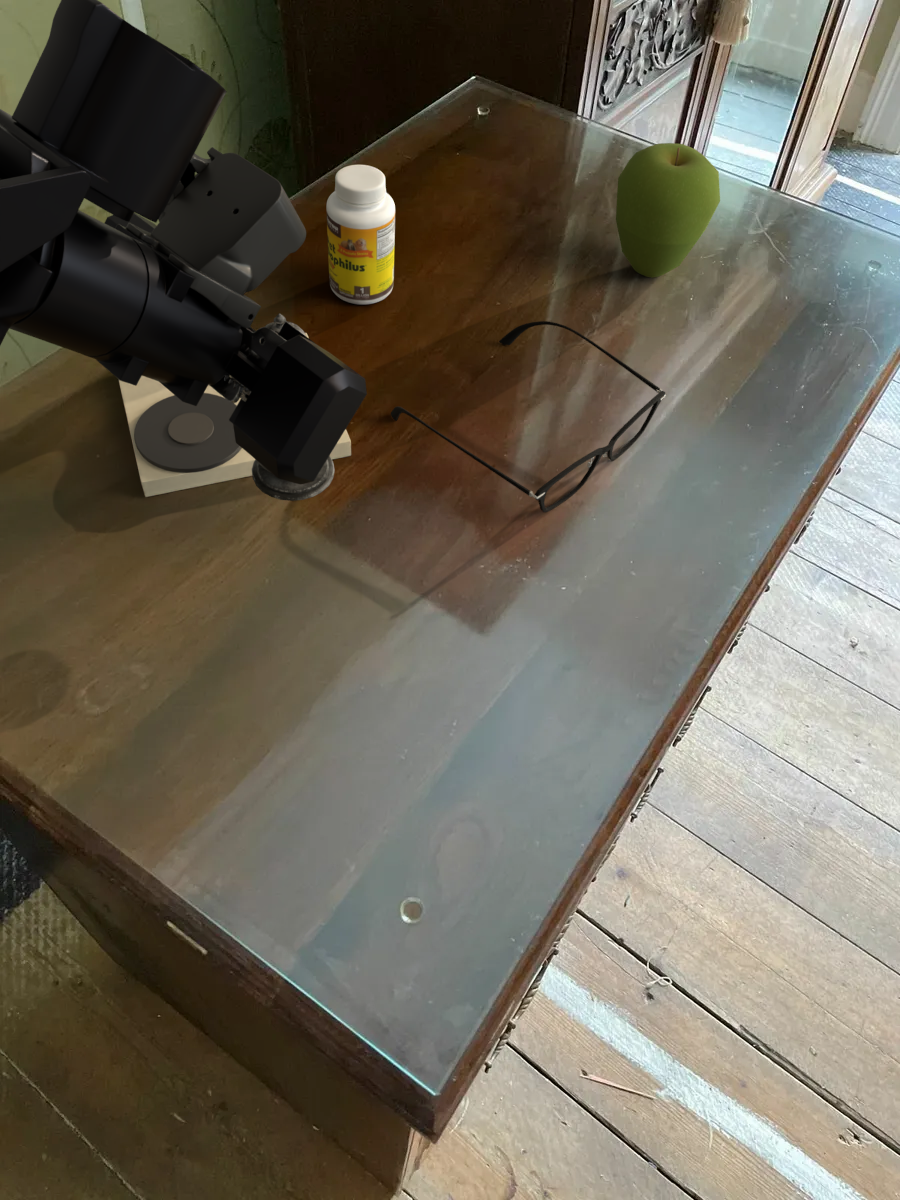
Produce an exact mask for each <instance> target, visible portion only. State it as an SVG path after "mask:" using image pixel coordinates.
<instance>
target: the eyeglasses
mask: <svg viewBox="0 0 900 1200" xmlns="http://www.w3.org/2000/svg"><path fill="white" fill-rule="evenodd" d="M545 325H546V326H547V325H548V326H554V327H559V328H562V329H565V330H568V331H569V332H571V333H573V334H575V335H576V336H578V337H580V338H582V339H583V340H584V341H586V342H587V343H589V344H590V345H592V346H593V347H595V348H596V349H598V350H599V351H600V352H601V353H603V354H604V355H606V356H607V357H609V358H610V359H611V360H613V361H614V362H615V363H617V364H618V365H620V366H621V367H622V368H624V370H626V371H628V372H629V373H630V374H631V375H633V376H634V377H636V378H637V379H638V380H640V382H642V383H644V384H645V385H647V386H648V387H649V388H650V389H652V390H653V391H655V392H656V393H657V394H656V395H654V396H653V398H651V400H649V401H648V402H647V403H646V404H644V405H643V406H642V407H641V408H640V409H638V411H637V412H636V413H635V414H634V415H633V416H632V417H631V418H630V419H629V420H628V421H627V422H626V423H625V424H623V426H621V428H619V430H618V431H617V432H616V433H615V434H614V435H613V436H612V437H611V439H610V440H609V442H608V444H607V445H606V446H603V447H598V448H596V449H594V450H593V451H591V452H589V453H587V454H585V455H584V456H582V457H581V458H579V459H577V460H576V461H574V462H573V463H572V464H570V465H568V466H567V467H566V468H564V469H563V470H562V471H560V472H559V473H558V474H556V475H555V476H553V477H552V478H551V479H550V480H548V481H547V482H546V483H544V484H543V485H542V486H541V487H539V488H538V489H537V490H536V491H535V493H534V492H533V490H530V489H528V488H527V487H525V486H523V485H522V484H521V483H519V482H517V481H516V480H514V479H513V478H511V477H509V476H508V475H507V474H506V473H505V474H504V473H503V472H502V471H500V470H499V469H497V468H495V466H492V465H490V463H487V462H486V461H484V460H483V459H481V458H480V457H479V456H477V455H475V454H474V453H472V452H471V451H469V450H467V449H465V448H464V447H463V446H461V445H460V444H458V443H456V442H455V441H453V440H452V439H450V438H448V437H447V436H445V435H444V434H442V433H441V432H439V431H438V430H436V429H435V428H433V427H432V426H430V425H429V424H428V423H426V422H425V421H423V420H422V419H420V418H419V417H417V416H416V415H415V414H413V413H411V412H410V411H408V410H406V409H405V408H403V407H402V406H400V405H399V406H397V405H396V406H395V407H393V408H392V410H391V412H390V417H391V418H392V420H394V421H395V422H397V421H398V419H399V417H400V415H401V414H405V415H407V416H409V417H410V418H412V419H413V420H415V421H417V422H418V423H419V424H421V425H423V426H424V427H426V429H429V430H430V431H432V432H433V433H435V434H436V435H438V436H439V437H441V438H442V439H444V440H445V441H447V442H448V443H449V444H451V445H452V446H454V447H455V448H457V449H458V450H460V451H461V452H463V453H465V454H466V455H467V456H469V458H472V459H474V460H475V461H476V462H478V463H479V464H481V465H482V466H484V467H485V468H486V469H488V470H490V471H491V472H493V473H494V474H496V475H497V476H499V477H500V478H502V479H503V480H505V481H506V482H508V483H509V484H511V485H512V486H514V487H515V488H516V489H518V490H519V491H521V492H522V493H524V494H526V495H527V496H529V497H530V498H534V499H535V500H536V501H537V502H538V505H539V506H538V507H539V509H540V511H542V512H543V513H548V512H550V511H552V510H554V509H555V508H557V507H558V506H561V504H563V503H565V502H566V501H567V500H569V498H571V497H572V496H574V495H575V494H576V493H577V492H579V490H580V489H582V488H583V486H584V485H585V484H586V482H588V480H589V478H590V477H591V475H592V473H593V472H594V470H595V469H596V467H597V465H598V464H599V462H600V460H601V459H602V457H603V458H606V457H607V459H608V460H610V461H611V462H613V461H615V460H617V459H618V458H620V457H621V456H622V455H623V454H624V453H625V452H627V450H629V448H631V447H632V446H633V445H634V444H635V442H636V441H637V440H638V439H640V437H641V436H642V434H643V433H644V431H645V430H646V428H647V427H648V425H649V424H650V422H651V420H652V418H653V416H654V415H655V413H656V411H657V409H658V407H659V405H660V404H661V403H662V401H663V400H664V398H666V396H667V393H666V391H664V390H663V389H662V388H660V387H659V386H657V385H656V384H654V382H652V381H650V380H649V379H648V378H646V377H645V376H643V375H642V374H641V373H640V372H638V371H636V370H635V369H633V368H631V366H629V365H628V364H626V363H625V362H623V361H622V360H620V359H619V358H617V357H616V356H614V355H613V354H611V353H610V352H608V351H607V350H605V349H604V348H603V347H601V346H600V345H598V344H597V343H596V342H594V341H593V340H591V339H589V338H587V336H585V335H583V334H582V333H580V332H579V331H577V330H575V329H573V328H571V327H569V326H567V325H564V324H561V323H558V322H553V321H548V320H547V321H546V320H541V321H531V322H527V323H523V324H520V325H518V326H516V327H515V328H513V329H512V330H511V331H508V333H507V334H505V335H504V336H503V337H502V338H501V339H499V340H498V343H500V344H502V345H504V346H510V345H511V346H512V344H513V343H514V342H515V341H516V339H518V337H520V336H521V335H522V334H523V333H524V332H525V331H527V330H528V329H530V328H532V327H537V326H545ZM650 408H651V409H650ZM649 409H650V411H649V413H648V414H647V416H646V418H645V420H644V422H643V424H641V427H640V429H639V430H638V431H637V433H636V434H635V435H634V436H633V437H632V439H630V440H629V441H628V443H626V445H624V446H623V447H622V448H621V449H620V450H619V451H618V452H617V453H615V454H614V455H613V451H614V447H615V444H616V442H617V441H618V439H620V437H621V436H622V435H623V434H624V433H625V432H626V431H627V430H628V429H629V428H630V427H631V426H632V425H633V424H634V423H635V422H636V421H637V420H638V419H639V418H640V417H642V415H643V414H644V413H646V412H647V411H648V410H649ZM589 460H590V461H589ZM584 463H587V464H586V465H587V466H586V467H587V468H588V470H587V472H586V473H585V474H584V475H583V477H582V479H581V480H580V482H578V484H577V485H576V486H575V487H573V488H572V489H571V490H570V491H569V492H568V493H567V494H565V495H564V496H562V497H561V498H559V499H558V500H556V501H555V502H553V503H552V504H550V505H547V506H546V505H545V504H546V503H545V500H546V497H547V493H548V491H549V490H550V489H551V488H552V487H553V486H554V485H555V484H557V483H558V482H559V481H560V480H562V479H563V478H564V477H565V476H567V475H568V474H570V473H571V472H572V471H574V470H575V469H577V468H578V467H580V466H581V465H582V464H584Z"/></svg>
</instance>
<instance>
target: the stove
mask: <svg viewBox="0 0 900 1200" xmlns="http://www.w3.org/2000/svg"><path fill="white" fill-rule="evenodd" d="M304 333H305V335H306V337H308V338H309V335H308V333H307V332H304ZM309 339H310V338H309ZM229 377H231V378H233V377H232V376H231V375H230V376H229ZM233 379H235V378H233ZM118 384H119V388H120V389H119V390H120V393H121V397H122V403H123V406H124V411H125V415H126V420H127V424H128V425H127V426H128V429H129V434H130V438H131V442H132V447H133V452H134V456H135V461H136V465H137V469H138V470H137V471H138V474H139V480H140V484H141V487H142V491H143V494H144V497H145V498H148V497H153V496H158V495H164V494H167V493H168V494H169V493H172V492H173V493H174V492H177V491H178V492H179V491H181V490H182V491H184V490H187V489H193V488H198V487H203V486H208V485H214V484H217V483H222V482H228V481H233V480H238V479H243V478H247V477H252V467H253V463H254V461H255V458H253V457H252V456H251V455H250V454H249V453H247V452H246V451H245V450H244V449H243V448H241V447H240V446H239V445H238V444H237V443H236V441H235V434H234V427H233V423H231V422H230V421H229V419H230V417H231V415H232V413H233V412H234V410H235V408H236V406H237V405H238V403H239V401H240V399H241V398H240V399H239V400H238V401H237V402H236V403H233V402H230V401H228V400H227V399H225V398H224V397H223V396H222V395H220V394H219V393H218V392H217V391H216V390H214V389H213V388H212V387H211V386H209V385H208V386H207V388H206V390H205V392H204V394H203V395H202V397H201V399H200V401H199V402H198V404H197V406H194V405H191V404H188V403H185V402H182V401H181V400H180V399H179V398H178V397H177V396H175V395H174V394H173V393H172V392H171V391H169V390H168V389H167V388H166V387H165V386H163V385H162V384H161V383H160V382H159V381H156V380H153V379H150V378H147V377H145V376H141V378H140V380H139V382H138V384H137V385H136V386H135V385H132V384H129V383H126V382H123V381H120V380H119V379H118ZM351 456H352V441H351V438H350V435H349V433H348V431H347V428H346V429H345V431H344V433H343V434H342V436H341V438H340V439H339V441H338V442H337V444H336V446H335V447H334V449H333V451H332V452H331V454H330V457H331V459H332V460H337V459H341V458H347V457H351Z"/></svg>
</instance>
